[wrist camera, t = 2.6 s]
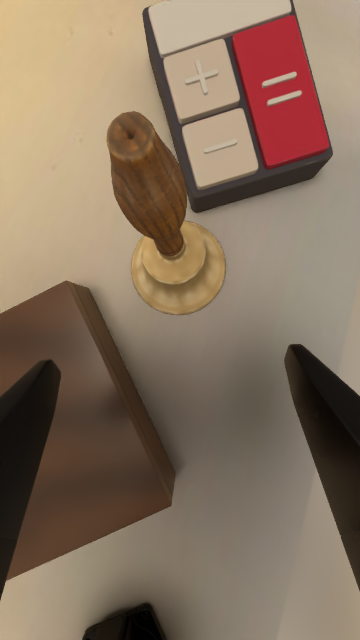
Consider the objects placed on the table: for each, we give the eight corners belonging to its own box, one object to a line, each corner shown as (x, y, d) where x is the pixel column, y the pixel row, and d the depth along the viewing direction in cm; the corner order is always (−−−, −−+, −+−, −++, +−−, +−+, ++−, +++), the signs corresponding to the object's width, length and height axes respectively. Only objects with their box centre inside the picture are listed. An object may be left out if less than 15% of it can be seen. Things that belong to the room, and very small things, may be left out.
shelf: (175, 473, 22) (171, 506, 18) (35, 538, 23) (0, 583, 19) (88, 288, 23) (66, 280, 19) (-45, 355, 23) (-94, 361, 19)
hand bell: (215, 323, 22) (267, 317, 6) (123, 304, 23) (-49, 255, 7) (233, 230, 22) (333, -15, 6) (141, 214, 23) (16, -50, 7)
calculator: (193, 194, 19) (138, -5, 18) (192, 217, 23) (148, 55, 23) (341, 150, 18) (286, -57, 18) (312, 181, 22) (268, 14, 22)
